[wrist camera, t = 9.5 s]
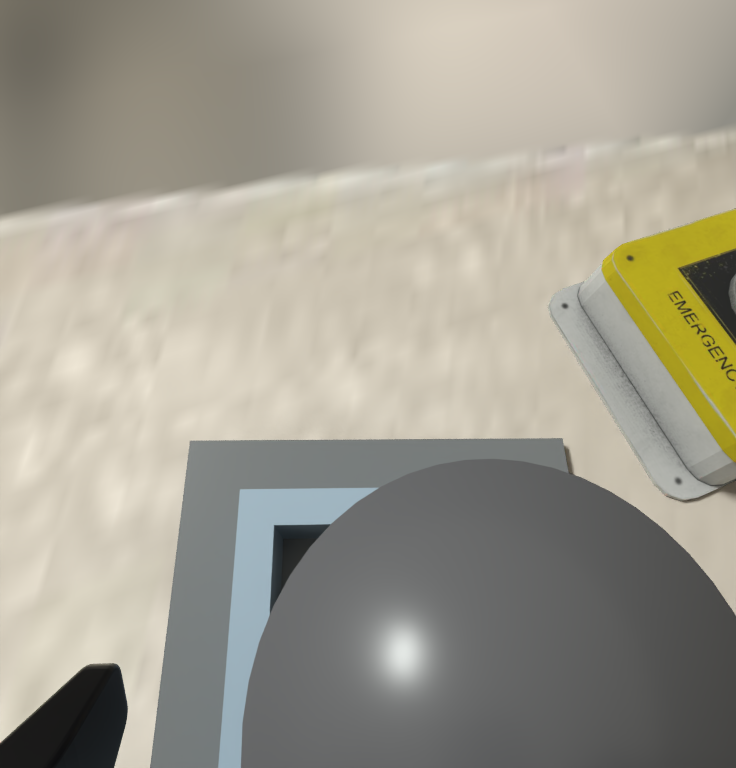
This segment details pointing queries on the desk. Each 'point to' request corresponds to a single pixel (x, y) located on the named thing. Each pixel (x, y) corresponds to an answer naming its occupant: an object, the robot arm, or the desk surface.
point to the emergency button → (664, 350)
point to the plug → (494, 634)
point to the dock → (266, 562)
